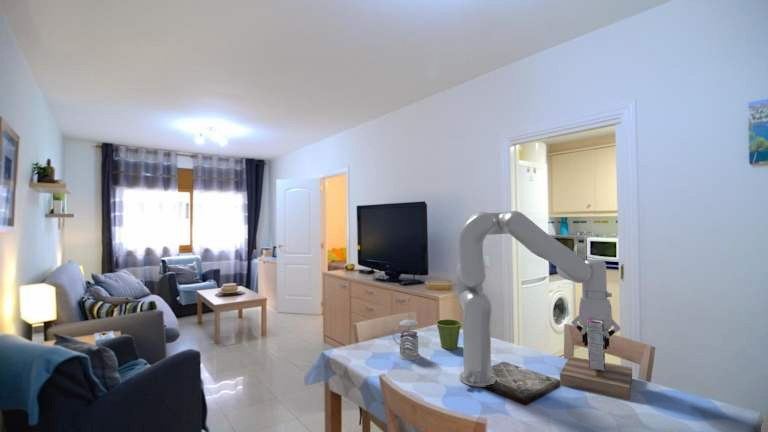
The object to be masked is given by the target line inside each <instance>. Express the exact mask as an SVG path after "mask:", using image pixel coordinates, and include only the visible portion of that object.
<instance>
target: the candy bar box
mask: <svg viewBox="0 0 768 432" xmlns="http://www.w3.org/2000/svg"><path fill="white" fill-rule="evenodd" d="M586 332H587V335H588V345H587V352H588V353H587V355H588V360H589V367H590V369H594V370H601V371H605V363H606V359H605V358H606V355H605V353H606V352H605V350H606V349H604V336H605V334H604V328H603V321H602V320H594V319H588V320H587V330H586Z"/></svg>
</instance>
